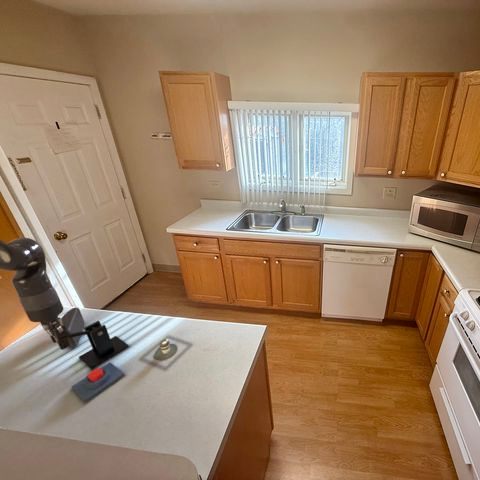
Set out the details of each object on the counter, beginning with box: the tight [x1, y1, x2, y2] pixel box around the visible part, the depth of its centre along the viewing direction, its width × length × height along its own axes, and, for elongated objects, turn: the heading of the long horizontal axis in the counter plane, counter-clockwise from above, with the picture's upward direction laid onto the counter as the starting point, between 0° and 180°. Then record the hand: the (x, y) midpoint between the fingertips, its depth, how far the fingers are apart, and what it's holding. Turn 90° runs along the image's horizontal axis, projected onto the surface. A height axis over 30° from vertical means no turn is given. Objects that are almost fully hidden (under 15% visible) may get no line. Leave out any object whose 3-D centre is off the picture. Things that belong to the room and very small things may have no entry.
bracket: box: [78, 320, 130, 371], centre depth 93 cm, size 12×9×13 cm
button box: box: [70, 362, 125, 403], centre depth 85 cm, size 11×9×3 cm
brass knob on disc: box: [153, 338, 178, 361], centre depth 97 cm, size 12×12×5 cm
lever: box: [68, 326, 100, 338], centre depth 87 cm, size 12×5×2 cm, turn 152°
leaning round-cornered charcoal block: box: [60, 307, 85, 350], centre depth 100 cm, size 16×5×9 cm, turn 31°
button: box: [87, 367, 104, 382], centre depth 84 cm, size 4×4×2 cm
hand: (61, 344), depth 83 cm, fingers closed on lever, 5 cm apart
